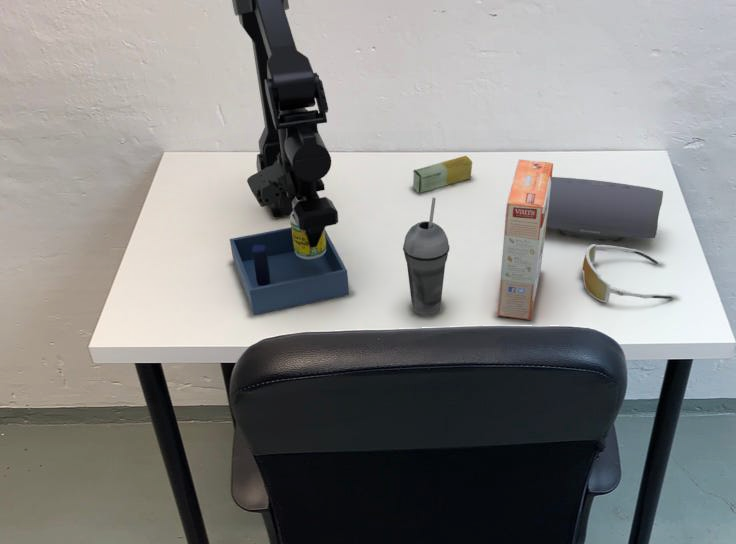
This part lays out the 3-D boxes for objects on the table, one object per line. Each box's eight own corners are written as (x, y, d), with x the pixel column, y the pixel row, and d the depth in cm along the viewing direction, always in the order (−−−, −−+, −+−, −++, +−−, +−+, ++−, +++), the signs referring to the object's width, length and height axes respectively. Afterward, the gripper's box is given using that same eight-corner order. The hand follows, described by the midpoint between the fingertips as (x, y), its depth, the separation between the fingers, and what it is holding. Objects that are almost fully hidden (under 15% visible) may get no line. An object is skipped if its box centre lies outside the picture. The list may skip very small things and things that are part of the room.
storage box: (233, 262, 156) (229, 238, 152) (323, 244, 160) (320, 221, 156) (253, 315, 145) (249, 290, 142) (349, 294, 149) (347, 270, 146)
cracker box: (533, 321, 144) (545, 206, 129) (496, 317, 144) (504, 202, 130) (542, 273, 153) (555, 160, 139) (507, 269, 154) (516, 157, 140)
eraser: (258, 278, 152) (252, 243, 147) (271, 278, 152) (266, 244, 147) (256, 285, 150) (250, 251, 145) (269, 285, 150) (264, 251, 145)
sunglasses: (571, 260, 156) (578, 235, 153) (653, 267, 158) (662, 243, 155) (586, 308, 146) (594, 283, 142) (673, 315, 148) (683, 291, 145)
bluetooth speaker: (654, 227, 164) (664, 177, 157) (652, 254, 158) (662, 204, 150) (532, 212, 168) (536, 163, 161) (524, 239, 161) (529, 189, 154)
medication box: (418, 194, 173) (418, 176, 169) (411, 187, 174) (412, 169, 171) (471, 178, 176) (473, 161, 173) (465, 171, 178) (466, 153, 175)
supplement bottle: (331, 246, 151) (326, 195, 145) (319, 263, 148) (313, 211, 141) (302, 241, 153) (296, 190, 146) (289, 257, 149) (282, 206, 142)
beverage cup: (402, 295, 149) (400, 187, 135) (446, 293, 149) (447, 185, 135) (405, 322, 144) (403, 212, 129) (450, 320, 144) (452, 210, 130)
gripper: (235, 132, 142) (249, 218, 152) (261, 187, 129) (274, 277, 140) (303, 121, 144) (312, 207, 155) (335, 174, 132) (342, 263, 143)
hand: (308, 237), depth 148 cm, fingers closed on supplement bottle, 5 cm apart
